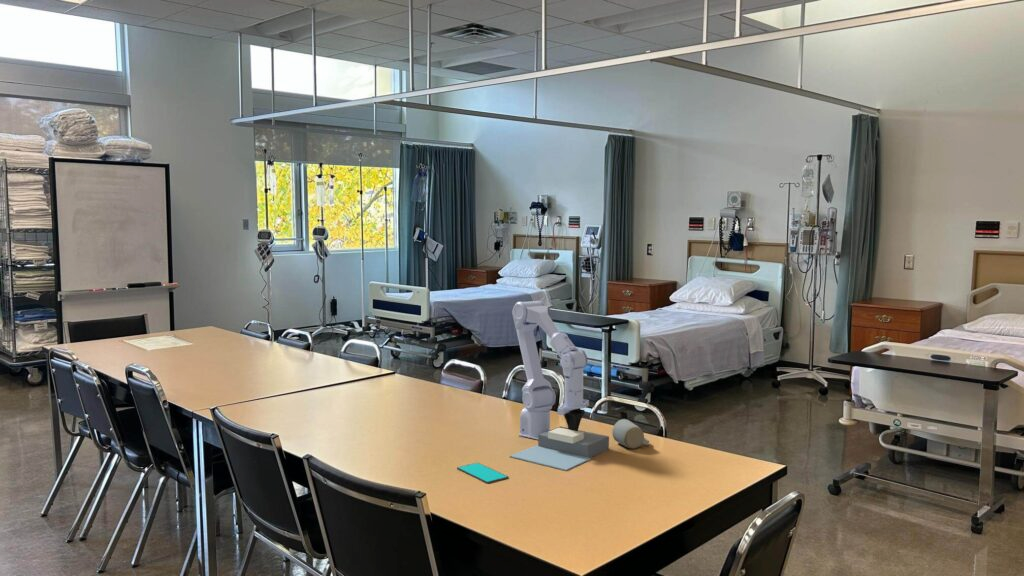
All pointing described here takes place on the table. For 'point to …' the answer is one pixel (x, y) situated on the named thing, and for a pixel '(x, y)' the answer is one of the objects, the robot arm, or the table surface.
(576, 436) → the cream rectangular block
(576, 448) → the plate
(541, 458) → the mat
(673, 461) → the table surface
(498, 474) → the smartphone
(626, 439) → the ceramic mug
